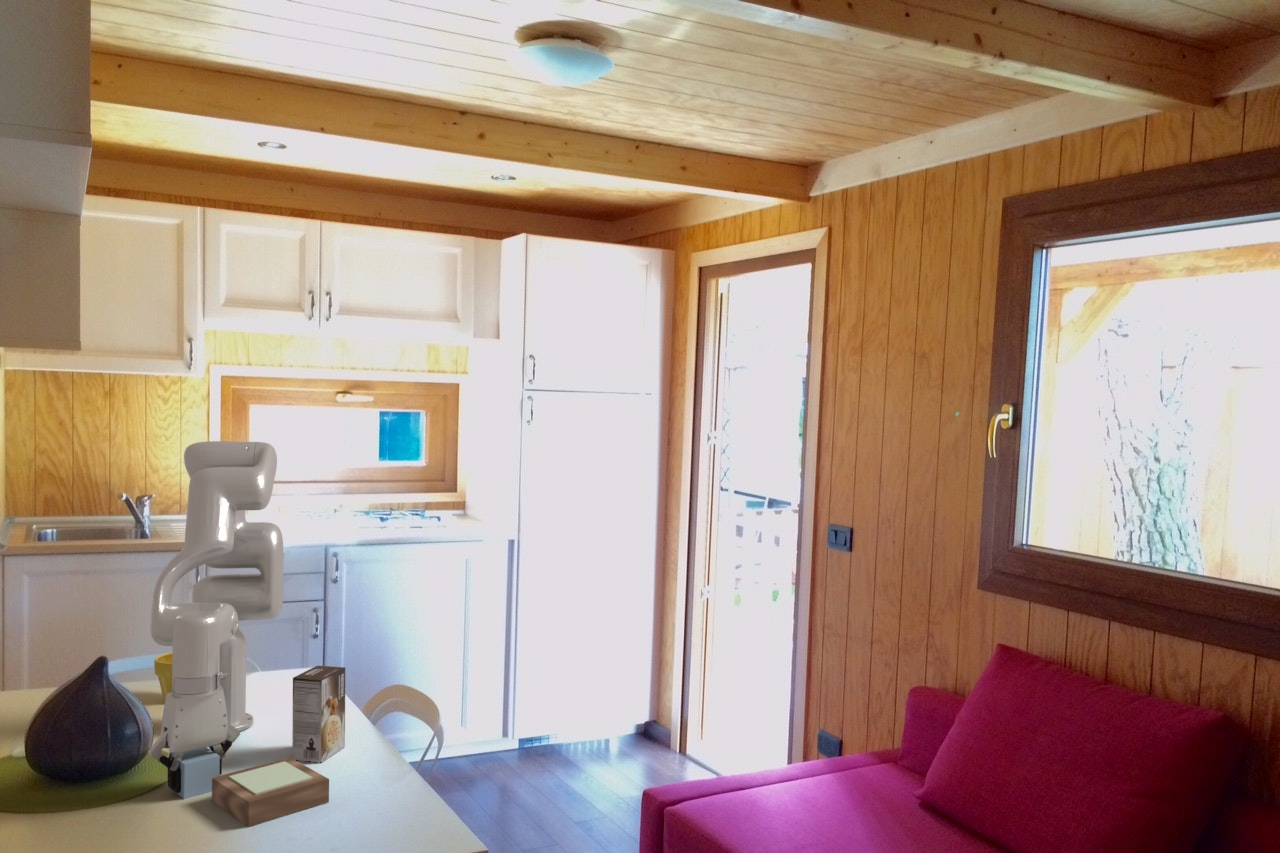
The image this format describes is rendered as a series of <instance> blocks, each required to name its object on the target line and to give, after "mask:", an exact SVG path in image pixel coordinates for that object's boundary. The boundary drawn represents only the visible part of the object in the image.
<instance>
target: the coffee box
mask: <svg viewBox="0 0 1280 853" xmlns="http://www.w3.org/2000/svg"><path fill="white" fill-rule="evenodd" d="M291 743H292V748H291V749H292V752H291V753H292V756H291V758H292V759H294V760H298V762H305V761H311V762H310V763H315V762H322V763H323V761H324V762H325V761H326V760H328V759H329V758H331V757H332V756H333V755H335V754H336V753H338V752H340V751H341V750H342V749H344V748H345V747H346V667H345V666H342V667H341V666H332V665H331V666H330V665H329V666H328V665H316V666H313V667H312V668H309V669H307V670H306V671H303V672H301V673H300V674H298V675H296V676H294V677H292V742H291Z"/></svg>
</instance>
